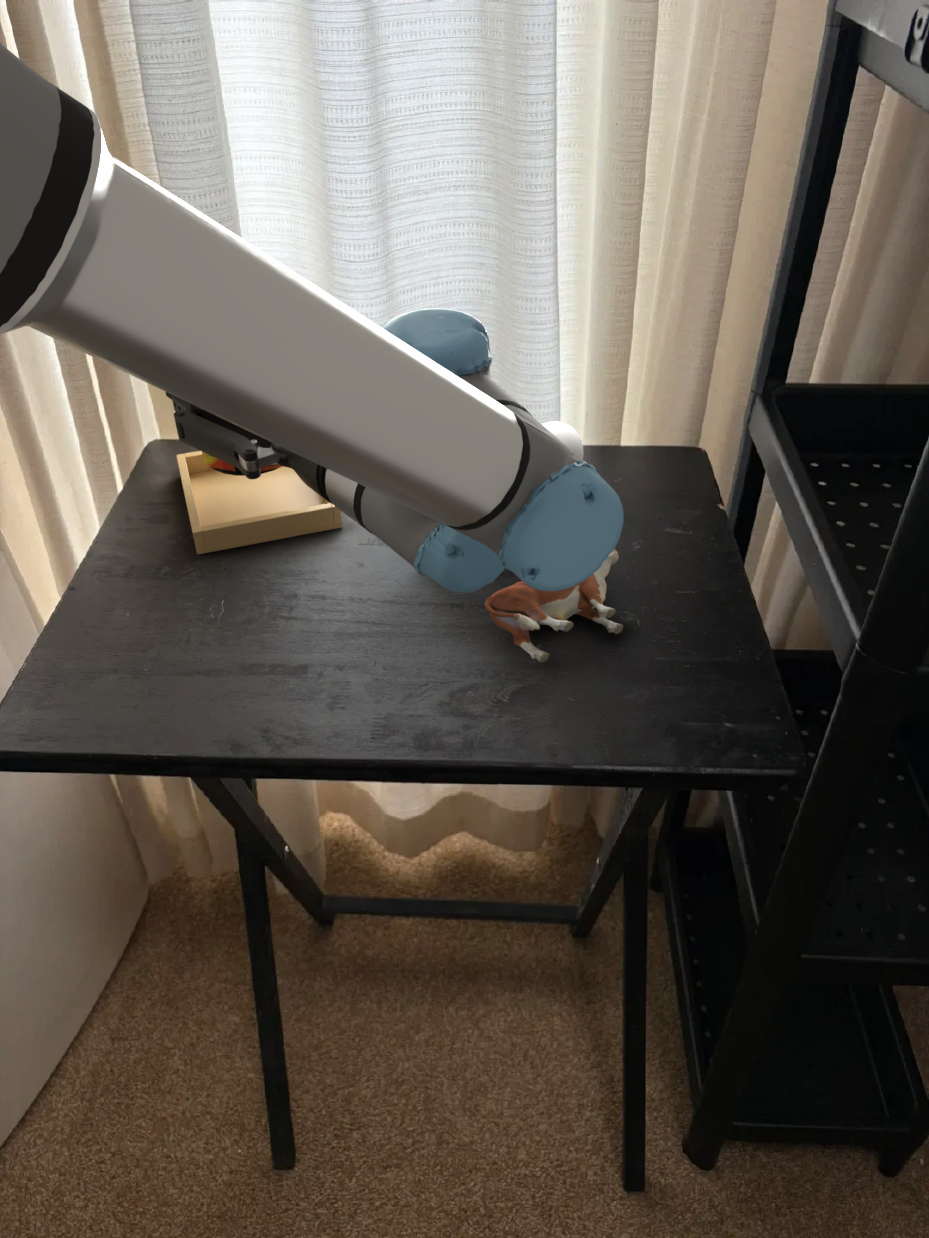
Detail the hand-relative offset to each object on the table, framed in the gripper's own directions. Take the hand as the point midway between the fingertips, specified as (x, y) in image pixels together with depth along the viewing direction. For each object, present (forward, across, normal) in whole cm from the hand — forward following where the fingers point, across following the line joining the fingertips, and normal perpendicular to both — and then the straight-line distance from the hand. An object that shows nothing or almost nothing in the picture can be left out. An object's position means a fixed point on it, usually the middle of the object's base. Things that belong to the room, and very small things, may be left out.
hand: (213, 363), depth 96 cm
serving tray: (-5, 0, -13) cm, 14 cm away
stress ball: (-20, +24, -13) cm, 34 cm away
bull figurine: (-41, +10, -11) cm, 43 cm away
